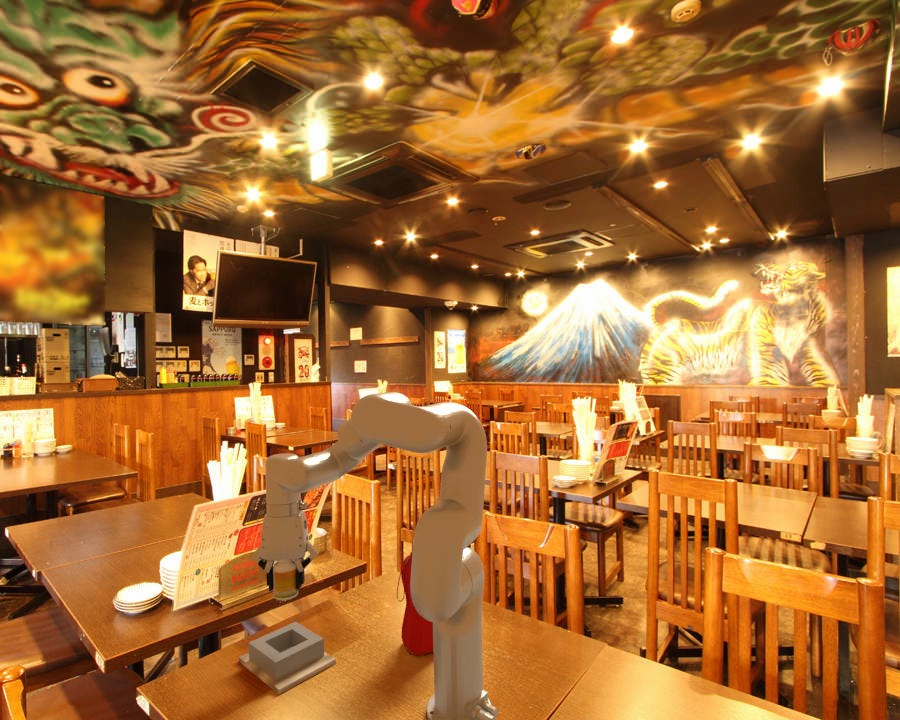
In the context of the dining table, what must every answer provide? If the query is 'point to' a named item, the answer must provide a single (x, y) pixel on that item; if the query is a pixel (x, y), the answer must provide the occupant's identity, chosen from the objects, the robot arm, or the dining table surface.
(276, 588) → the supplement bottle
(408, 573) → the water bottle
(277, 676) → the socket holder
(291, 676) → the gray tray
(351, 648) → the dining table surface
